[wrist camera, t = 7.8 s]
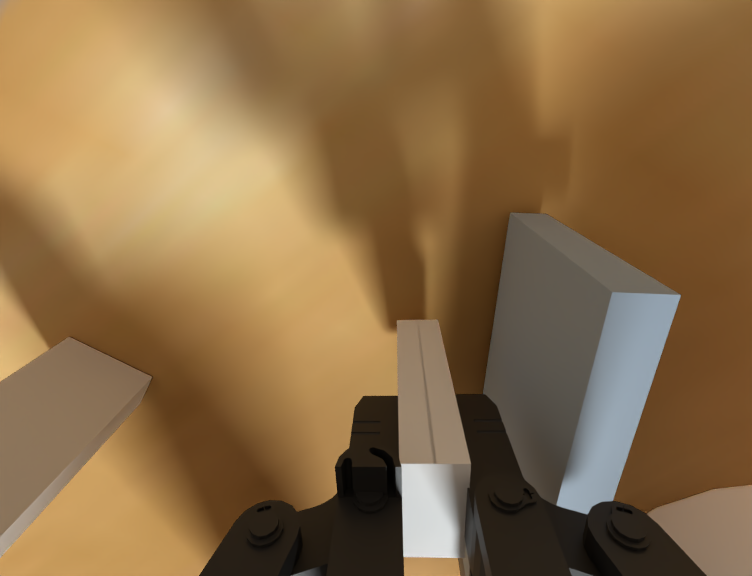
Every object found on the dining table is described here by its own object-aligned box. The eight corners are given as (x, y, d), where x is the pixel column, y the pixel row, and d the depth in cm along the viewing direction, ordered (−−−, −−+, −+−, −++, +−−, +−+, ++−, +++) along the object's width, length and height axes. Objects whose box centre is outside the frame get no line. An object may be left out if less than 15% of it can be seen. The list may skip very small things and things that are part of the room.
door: (507, 212, 14) (612, 296, 7) (585, 215, 14) (766, 302, 7) (455, 560, 20) (485, 775, 14) (508, 563, 20) (565, 781, 14)
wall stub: (59, 365, 17) (-167, 528, 10) (69, 336, 17) (-163, 488, 10) (140, 403, 18) (-22, 582, 11) (152, 377, 17) (-11, 547, 10)
